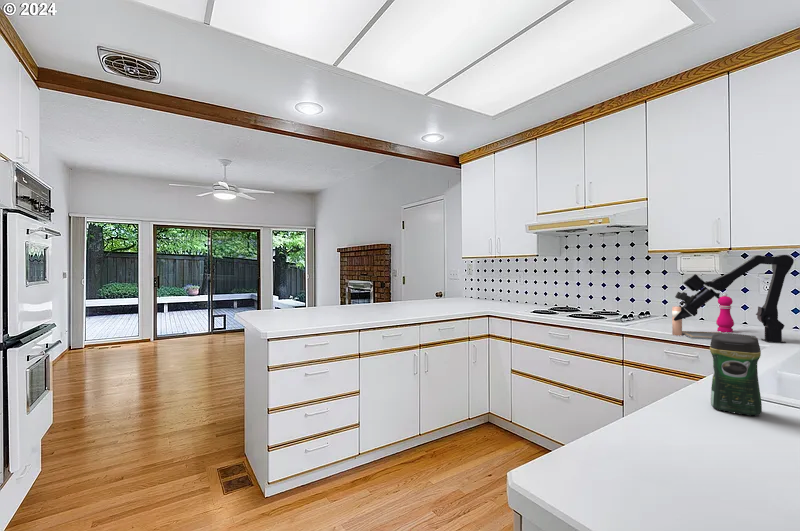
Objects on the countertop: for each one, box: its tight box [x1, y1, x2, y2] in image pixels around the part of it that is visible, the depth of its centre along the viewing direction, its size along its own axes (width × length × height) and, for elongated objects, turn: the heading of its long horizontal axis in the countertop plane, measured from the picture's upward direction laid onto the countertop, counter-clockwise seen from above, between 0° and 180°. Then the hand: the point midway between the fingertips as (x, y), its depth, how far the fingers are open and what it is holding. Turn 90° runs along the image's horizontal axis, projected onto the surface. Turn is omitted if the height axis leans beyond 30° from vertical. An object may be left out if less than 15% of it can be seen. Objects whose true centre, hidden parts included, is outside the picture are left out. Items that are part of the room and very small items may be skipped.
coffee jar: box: [709, 332, 763, 416], centre depth 98 cm, size 10×8×19 cm
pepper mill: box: [716, 293, 735, 333], centre depth 209 cm, size 7×7×20 cm
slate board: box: [682, 330, 722, 340], centre depth 195 cm, size 16×18×1 cm
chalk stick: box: [671, 305, 683, 337], centre depth 200 cm, size 4×4×14 cm
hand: (673, 319), depth 201 cm, fingers open, 5 cm apart
